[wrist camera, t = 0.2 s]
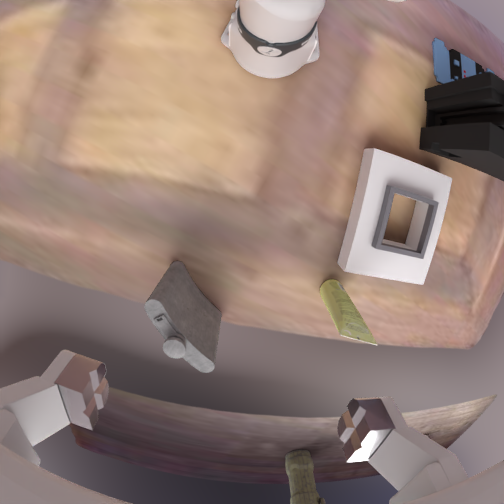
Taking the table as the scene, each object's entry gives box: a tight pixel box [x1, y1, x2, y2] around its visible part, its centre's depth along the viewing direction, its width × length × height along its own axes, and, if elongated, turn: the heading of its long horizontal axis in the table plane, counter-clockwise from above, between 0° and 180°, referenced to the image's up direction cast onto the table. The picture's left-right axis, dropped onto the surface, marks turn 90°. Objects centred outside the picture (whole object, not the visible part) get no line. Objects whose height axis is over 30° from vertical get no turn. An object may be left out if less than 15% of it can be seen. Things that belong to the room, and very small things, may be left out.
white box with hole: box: [337, 148, 452, 285], centre depth 53 cm, size 24×20×7 cm
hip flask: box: [145, 261, 222, 373], centre depth 51 cm, size 16×4×20 cm, turn 33°
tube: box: [320, 279, 377, 345], centre depth 51 cm, size 6×5×20 cm
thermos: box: [285, 450, 325, 504], centre depth 63 cm, size 9×12×35 cm
